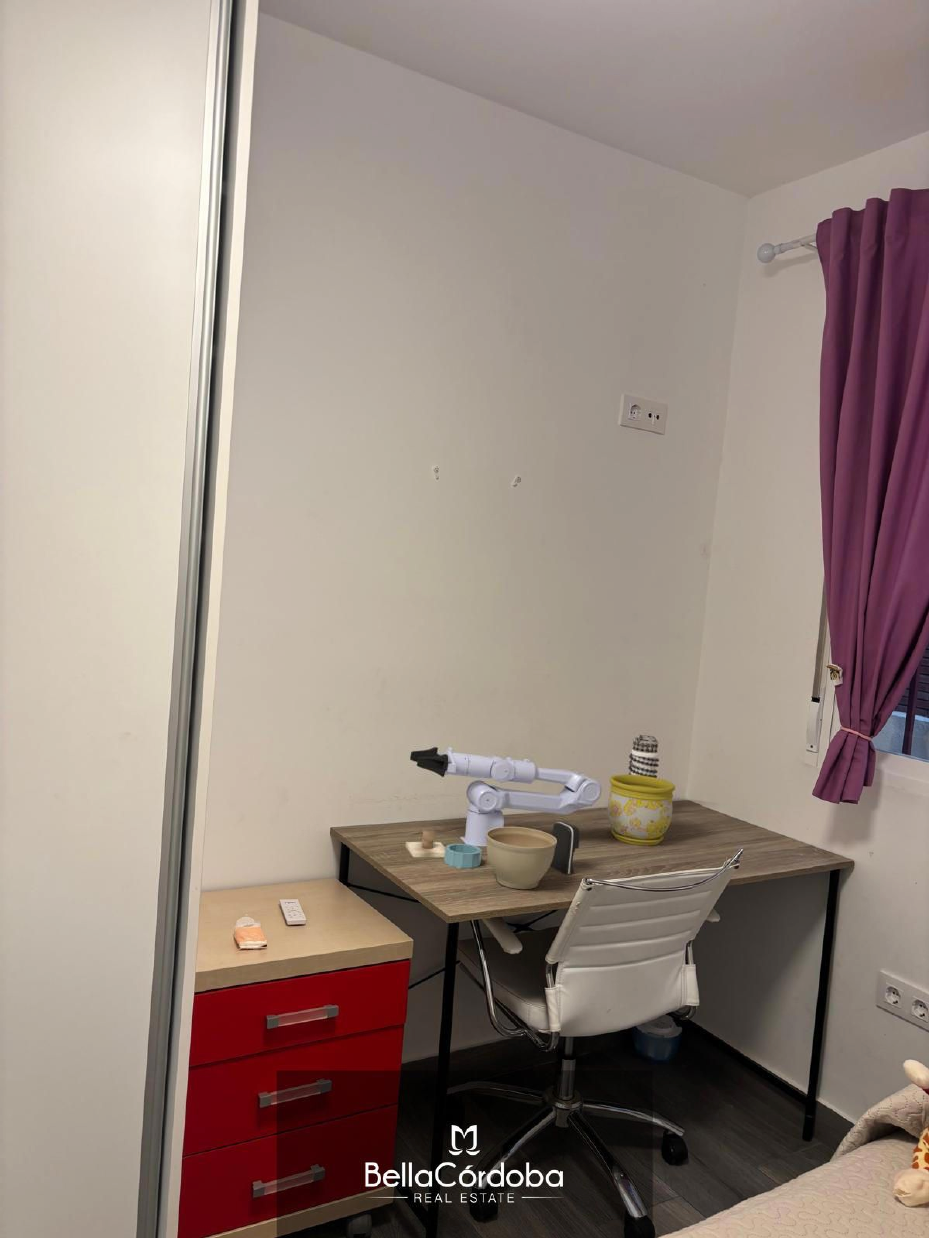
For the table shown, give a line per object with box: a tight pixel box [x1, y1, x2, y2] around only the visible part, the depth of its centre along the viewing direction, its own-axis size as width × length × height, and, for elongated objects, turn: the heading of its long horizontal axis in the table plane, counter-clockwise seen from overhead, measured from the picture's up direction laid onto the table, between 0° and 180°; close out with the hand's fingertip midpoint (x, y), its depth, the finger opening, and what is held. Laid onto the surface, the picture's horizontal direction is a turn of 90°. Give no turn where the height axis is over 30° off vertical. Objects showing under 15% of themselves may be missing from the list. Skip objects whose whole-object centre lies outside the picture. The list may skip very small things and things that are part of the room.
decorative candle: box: [627, 734, 660, 778], centre depth 289 cm, size 9×9×25 cm
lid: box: [405, 829, 446, 858], centre depth 230 cm, size 9×9×5 cm
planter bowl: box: [486, 826, 557, 890], centre depth 214 cm, size 16×16×11 cm
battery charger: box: [549, 821, 581, 875], centre depth 227 cm, size 7×4×11 cm, turn 32°
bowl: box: [443, 843, 483, 870], centre depth 224 cm, size 8×8×4 cm
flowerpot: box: [606, 774, 676, 847], centre depth 262 cm, size 18×18×16 cm
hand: (414, 758), depth 238 cm, fingers open, 7 cm apart
